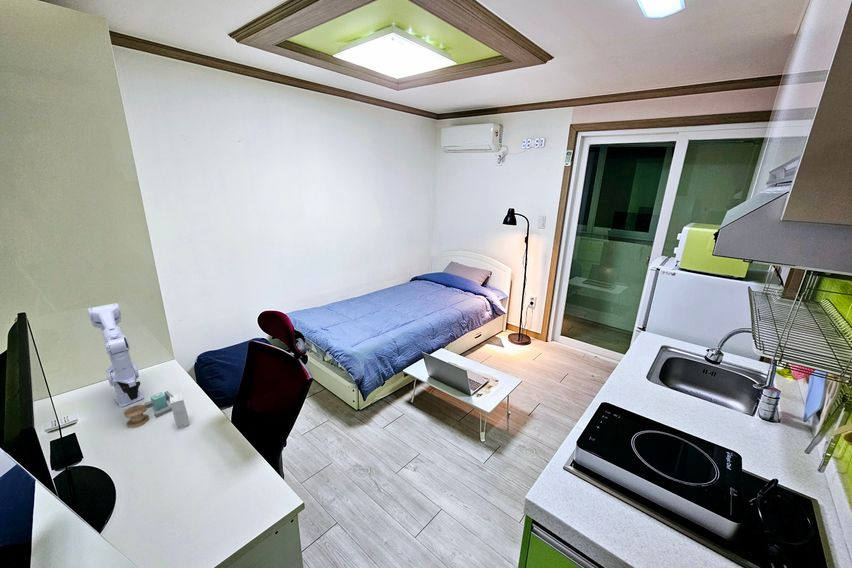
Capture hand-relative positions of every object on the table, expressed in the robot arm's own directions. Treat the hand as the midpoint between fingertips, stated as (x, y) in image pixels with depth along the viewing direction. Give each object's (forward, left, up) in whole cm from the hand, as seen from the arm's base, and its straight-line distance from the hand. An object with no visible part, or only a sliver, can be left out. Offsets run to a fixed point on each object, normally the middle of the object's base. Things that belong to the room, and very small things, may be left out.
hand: (130, 395), depth 141 cm
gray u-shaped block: (+3, +8, -9) cm, 13 cm away
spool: (+6, -1, -9) cm, 11 cm away
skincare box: (+21, +9, -10) cm, 25 cm away
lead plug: (+3, +8, -10) cm, 13 cm away
